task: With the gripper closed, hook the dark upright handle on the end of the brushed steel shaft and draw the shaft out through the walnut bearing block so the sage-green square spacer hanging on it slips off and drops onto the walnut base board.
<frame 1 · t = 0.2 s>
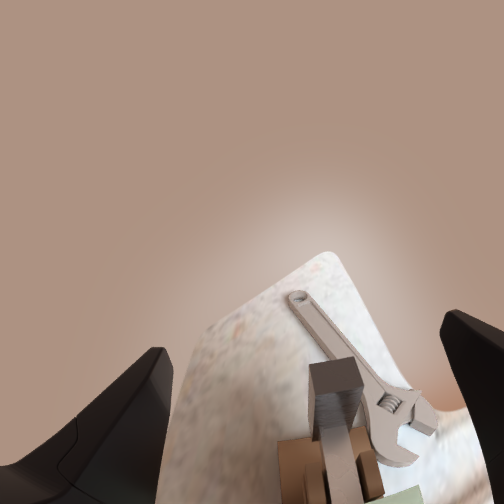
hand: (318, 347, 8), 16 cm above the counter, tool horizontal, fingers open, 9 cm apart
adjustable wrench: (353, 365, 25), on the counter, touching stand
shaft: (346, 473, 9), point 8 cm above the counter, slide at 0.0 cm, touching spacer
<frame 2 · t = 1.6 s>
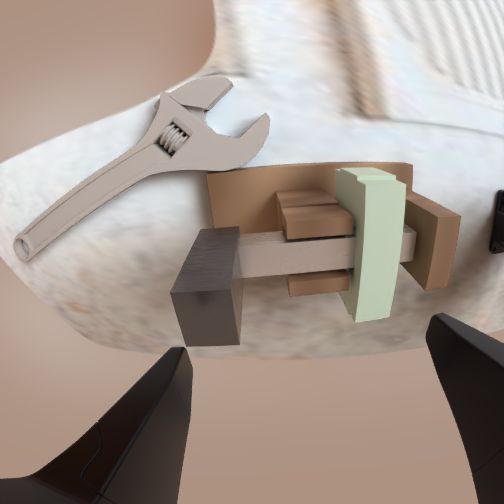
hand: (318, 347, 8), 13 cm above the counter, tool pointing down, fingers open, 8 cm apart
stand: (316, 212, 19), on the counter
spacer: (351, 226, 16), point 3 cm above the counter, touching shaft
adjustable wrench: (104, 176, 18), on the counter, touching stand
shaft: (320, 268, 12), point 8 cm above the counter, slide at 0.0 cm, touching spacer
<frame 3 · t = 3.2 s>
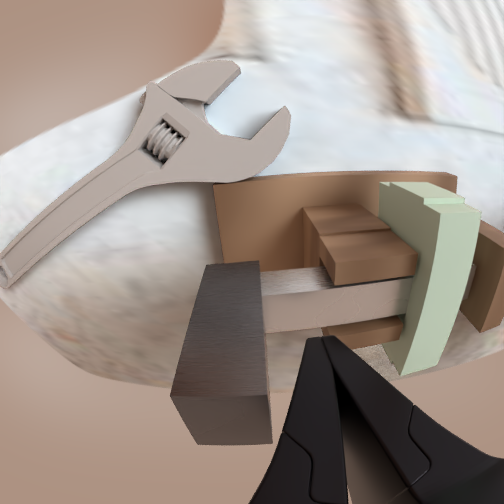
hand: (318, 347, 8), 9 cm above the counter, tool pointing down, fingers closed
stand: (347, 232, 15), on the counter
spacer: (393, 253, 12), point 3 cm above the counter, touching shaft
adjustable wrench: (83, 190, 14), on the counter, touching stand
shaft: (374, 324, 8), point 8 cm above the counter, slide at 0.1 cm, touching gripper, spacer
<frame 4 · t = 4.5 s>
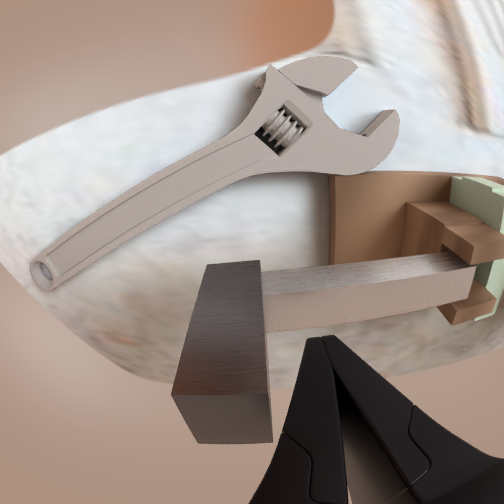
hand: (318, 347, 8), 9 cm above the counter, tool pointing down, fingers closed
stand: (429, 225, 15), on the counter
spacer: (456, 231, 14), point 1 cm above the counter, touching stand
adjustable wrench: (168, 176, 14), on the counter, touching stand
shaft: (374, 324, 8), point 8 cm above the counter, slide at 6.0 cm, touching gripper
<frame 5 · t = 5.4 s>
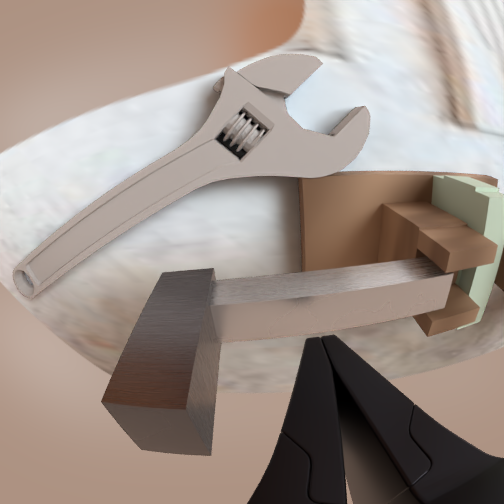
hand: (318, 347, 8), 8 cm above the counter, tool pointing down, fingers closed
stand: (410, 228, 15), on the counter
spacer: (440, 233, 14), point 1 cm above the counter, touching stand
adjustable wrench: (135, 184, 14), on the counter, touching stand
shaft: (328, 338, 8), point 8 cm above the counter, slide at 6.0 cm
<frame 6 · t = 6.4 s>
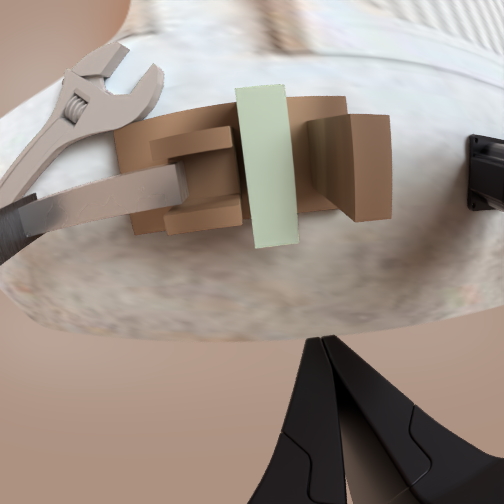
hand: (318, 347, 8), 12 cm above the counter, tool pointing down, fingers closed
stand: (234, 160, 16), on the counter
spacer: (261, 158, 15), point 1 cm above the counter, touching stand
adjustable wrench: (31, 159, 16), on the counter, touching stand
shaft: (52, 217, 9), point 8 cm above the counter, slide at 6.0 cm
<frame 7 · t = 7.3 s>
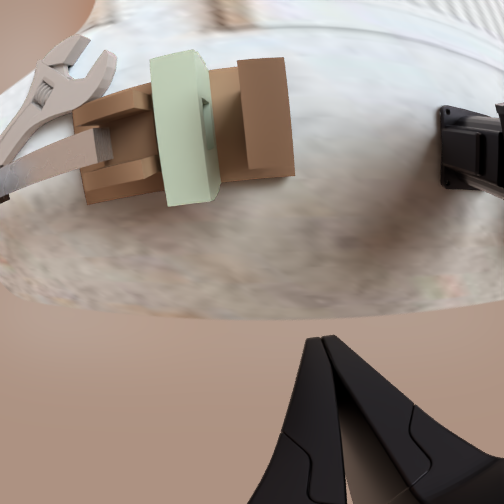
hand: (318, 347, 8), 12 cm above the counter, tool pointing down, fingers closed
stand: (176, 132, 16), on the counter
spacer: (197, 128, 15), point 1 cm above the counter, touching stand
adjustable wrench: (11, 141, 15), on the counter, touching stand
shaft: (3, 179, 9), point 8 cm above the counter, slide at 6.0 cm
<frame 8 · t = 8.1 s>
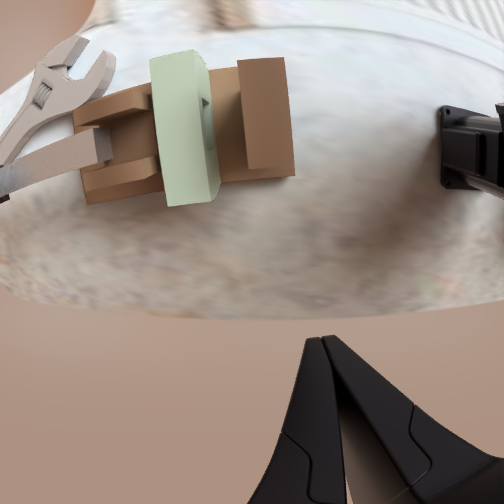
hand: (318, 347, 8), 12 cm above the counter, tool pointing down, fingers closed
stand: (176, 132, 16), on the counter
spacer: (197, 128, 15), point 1 cm above the counter, touching stand
adjustable wrench: (10, 142, 15), on the counter, touching stand
shaft: (3, 179, 9), point 8 cm above the counter, slide at 6.0 cm
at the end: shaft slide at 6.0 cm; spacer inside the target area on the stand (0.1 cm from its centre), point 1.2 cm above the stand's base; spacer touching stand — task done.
